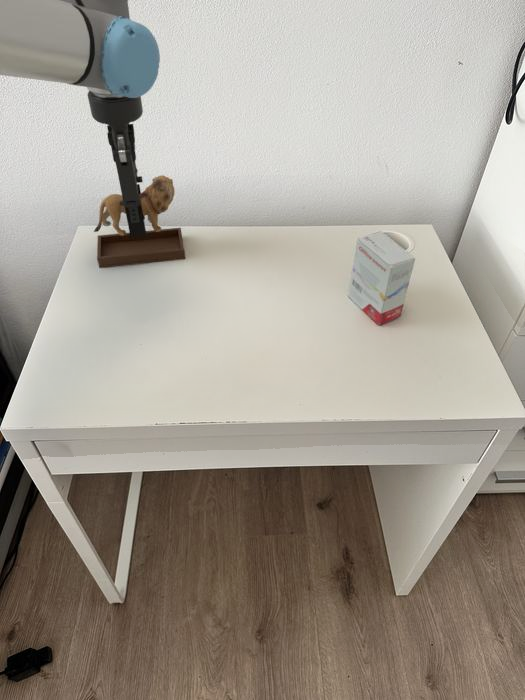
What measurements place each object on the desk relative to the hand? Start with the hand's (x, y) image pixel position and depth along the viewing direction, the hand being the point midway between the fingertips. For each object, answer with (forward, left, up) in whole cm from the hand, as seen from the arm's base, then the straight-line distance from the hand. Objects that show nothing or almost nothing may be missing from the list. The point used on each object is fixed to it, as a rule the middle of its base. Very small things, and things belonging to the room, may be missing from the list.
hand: (137, 226), depth 94 cm
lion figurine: (0, +1, 0) cm, 1 cm away
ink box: (+37, -22, -5) cm, 43 cm away
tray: (0, 0, -5) cm, 5 cm away
